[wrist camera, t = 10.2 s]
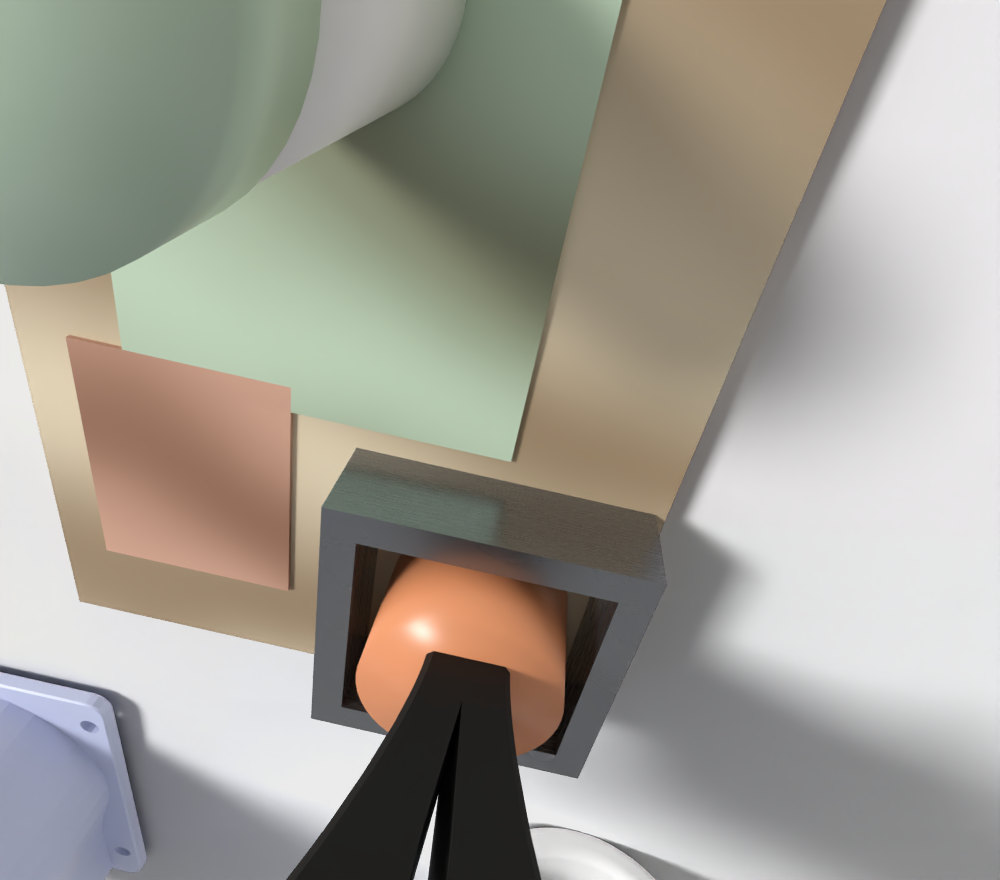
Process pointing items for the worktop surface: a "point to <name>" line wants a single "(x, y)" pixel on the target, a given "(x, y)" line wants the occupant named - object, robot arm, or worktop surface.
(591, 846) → the mug
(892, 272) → the worktop surface
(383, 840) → the robot arm
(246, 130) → the white and green cylinder
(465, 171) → the picture board
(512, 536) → the button housing
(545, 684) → the button
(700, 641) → the worktop surface
